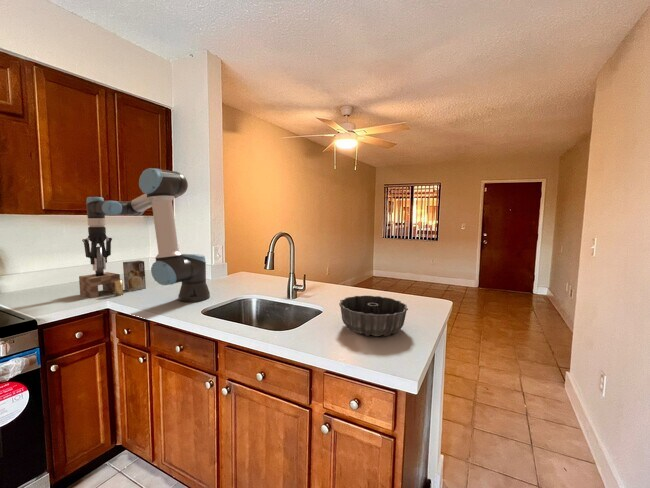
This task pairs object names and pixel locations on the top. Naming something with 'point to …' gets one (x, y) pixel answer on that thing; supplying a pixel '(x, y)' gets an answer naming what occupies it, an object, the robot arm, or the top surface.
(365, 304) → the bundt pan
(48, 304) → the top surface
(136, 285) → the coffee box
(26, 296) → the top surface
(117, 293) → the short brass pin
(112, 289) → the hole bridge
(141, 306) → the top surface
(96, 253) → the tall steel pin
